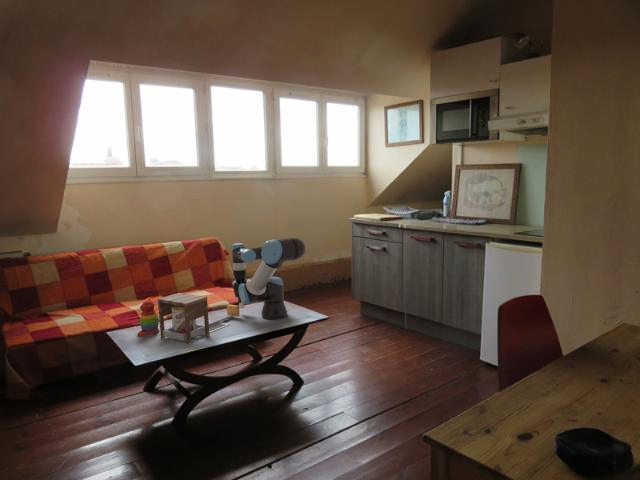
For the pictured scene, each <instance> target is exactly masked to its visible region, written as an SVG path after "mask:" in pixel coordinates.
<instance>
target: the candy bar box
mask: <svg viewBox="0 0 640 480" xmlns="http://www.w3.org/2000/svg"><path fill="white" fill-rule="evenodd" d="M171 311H172V314H171V321H172V324H171V325H172V327H173V332H177V333H181V334H185V333H186V326H185V312H184V306H180V305H174V306H172V307H171ZM196 324H197V319H194V320H191V321H190V331H193V330H195V329H196ZM192 338H195V337H192Z"/></svg>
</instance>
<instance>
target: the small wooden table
mask: <svg viewBox="0 0 640 480" xmlns="http://www.w3.org/2000/svg"><path fill="white" fill-rule="evenodd" d="M174 305H180V306H184V312H185V326H186V340H185V341H186V344H187V345H188V344H189V345H190V344H192V339H191V333H190V321H191V320H194V319H196V320H197V319H200V318H202V317H204V318H203V320H204V321H203V323H205V333H204V334H205V335H204V336H205V337H208V336H210V334H211V333H209V320H210V319H209V308H208V307H209V306H208V305H209V304H208V296H203V295H196V294H189V293H182V292H178V293H173V294H171V295H167V296H163V297H160V298H157V307H158V319H159V333H160V338H162V339H163V338H165V337H164V336H163V330H165V329H166V328H165V319H164V317H167V316H168V315H169V316H170V315H172V311H171V307H172V306H174Z"/></svg>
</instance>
